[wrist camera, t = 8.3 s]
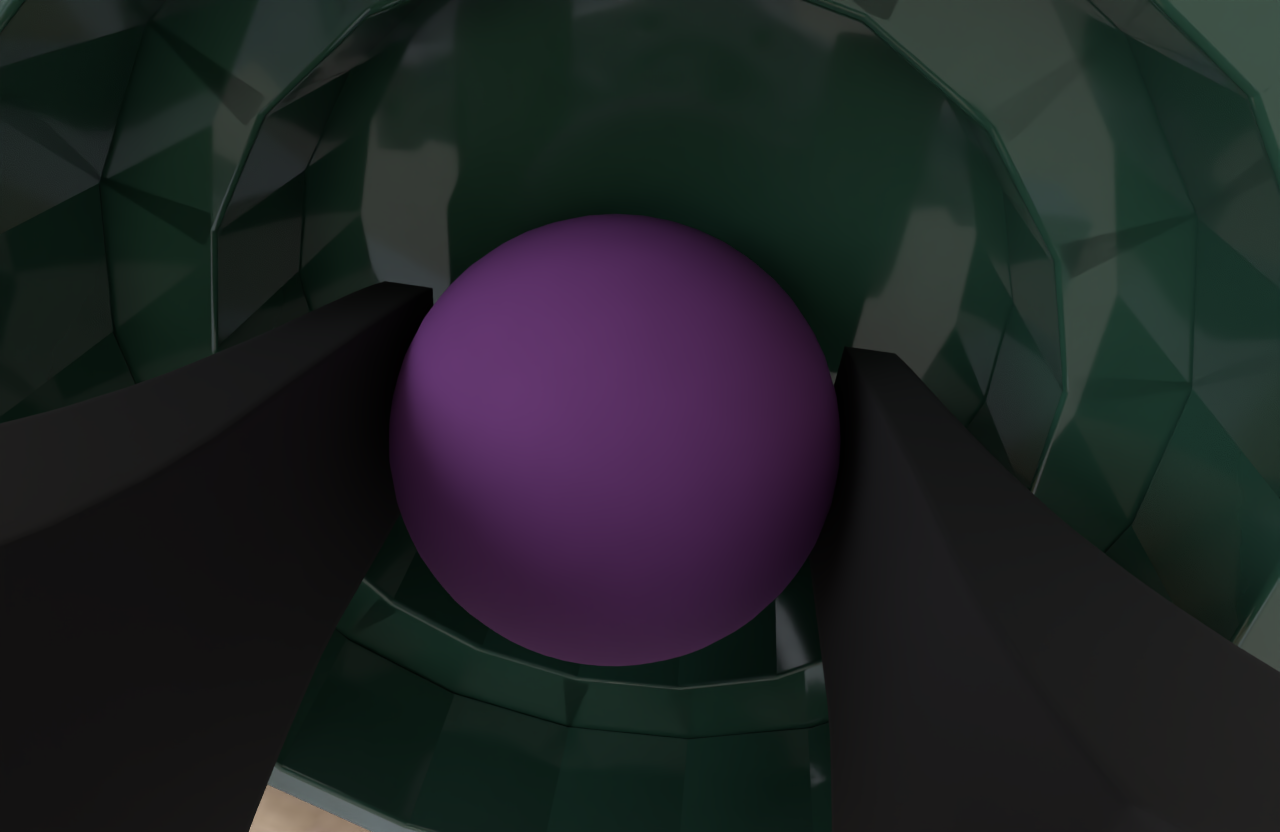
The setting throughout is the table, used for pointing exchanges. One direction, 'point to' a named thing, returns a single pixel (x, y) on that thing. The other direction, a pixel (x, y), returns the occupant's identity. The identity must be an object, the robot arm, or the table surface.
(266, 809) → the table surface
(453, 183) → the bowl
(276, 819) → the table surface
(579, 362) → the ball
